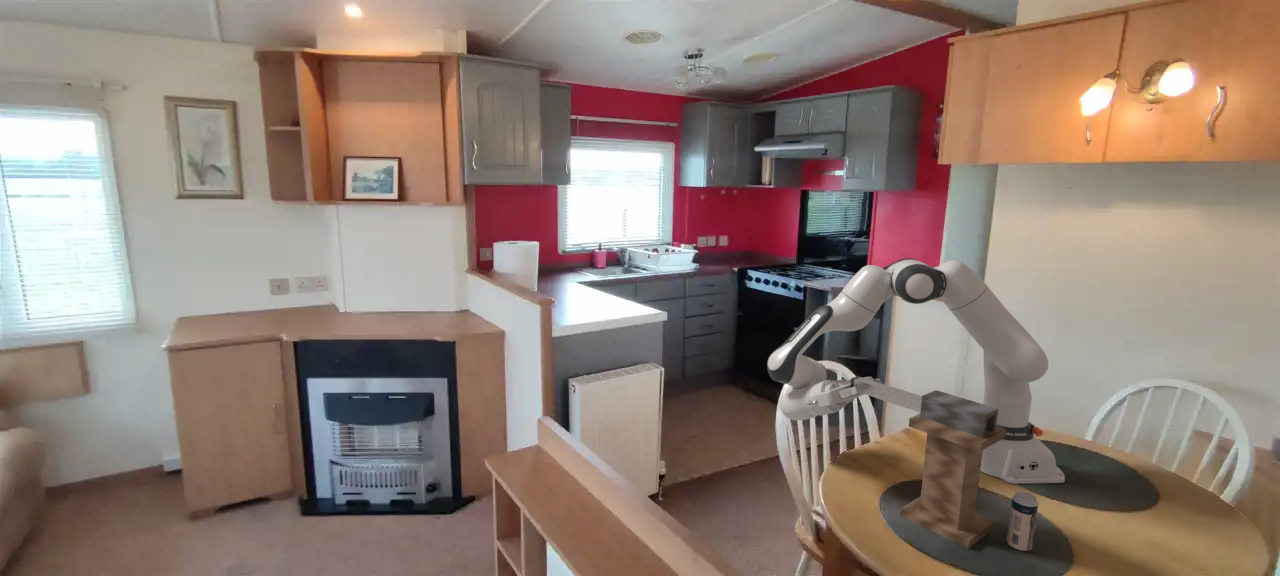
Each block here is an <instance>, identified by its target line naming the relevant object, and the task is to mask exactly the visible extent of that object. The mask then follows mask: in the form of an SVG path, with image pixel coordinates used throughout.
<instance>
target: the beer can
mask: <svg viewBox="0 0 1280 576" xmlns="http://www.w3.org/2000/svg"><path fill="white" fill-rule="evenodd" d="M1010 506H1011V507H1010V513H1009V519H1008V520H1009V521H1008V527H1007V536H1006V543H1007V544H1008V545H1009V546H1010V547H1012V548H1013V549H1015V550H1017V551H1022V552H1027V551H1031V550H1032V549H1033V545H1034V543H1033V542H1034V537H1035V536H1034V535H1035V530H1036V522H1037V516H1038V515H1037V514H1038V508H1039V502H1038V500H1037V498H1036V496H1034V495H1033V494H1031V493H1028V492H1025V491H1017V492H1016V493H1014V495H1013V496H1012V497H1011V505H1010Z"/></svg>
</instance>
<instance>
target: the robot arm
mask: <svg viewBox="0 0 1280 576" xmlns="http://www.w3.org/2000/svg"><path fill="white" fill-rule="evenodd" d="M893 297H899V298H901V300H903V301H904V302H907V303H909V304H913V305H914V304H915V305H917V304H924V303H927V302H929V301H932V300H935V299H937V298H939V299H940V300H941V301H942V302H943V303H944V304H945V306H946V307H947V308H948V310H950V313H952V315H954V317H955V318H956V319H957V321H958V322H959V323H960V324H961V325H962V326H963V328H964V329H965V330H966V331H967V332H968V333H969V335H970V336H971V337H972V339H974V340H975V342H976V343H977V344H978V345H979V347H981V349H982V350H983V377H984V379H983V380H984V394H983V402H982V404H984V405H988V406H991V407H994V408H998V416H997V424H996V426H998V427H1002V428H1005V429H1006V435H1005V438H1003V439H1002V440H1000V441H998V442H996V443H995V444H993V445H991V446H989V447H988V448H986V449H984V450H983V452H982V460H981V469H980V472H981V473H984V474H986V475H989V476H991V477H995V478H997V479H1001V480H1002V481H1004V482H1007V483H1010V484H1013V485H1014V484H1016V485H1017V484H1024V485H1025V484H1060V483H1061V484H1062V483H1065V481H1066V477H1065V474H1064V472H1063V470H1061V468H1059V466H1057V463H1056V457H1055V455H1054V454H1053V452H1052V451H1051V449H1050V448H1049V447H1047V446H1046V445H1045V444H1044V443H1043V442H1042V441H1041V440H1039V439H1038V438H1037V437H1039V438H1040V437H1042V436H1043V434H1044V432H1043V430H1042V429H1040V428H1039V427H1037V426H1035V425H1034V424H1033V423H1032V422H1030V414H1031V413H1030V412H1031V406H1032V400H1033V399H1032V398H1033V396H1032V392H1031V388H1030V383H1031V382H1035V381H1038V380H1040V379H1041V378H1043V376H1045V374H1046V373H1047V371H1048V369H1049V359H1048V357H1047V354H1046V352H1045V351H1044V349H1043V348H1042V347H1041V345H1039V343H1038V342H1037V340H1035V338H1033V336H1032V335H1031V334H1030V333H1029V332H1028V331H1027V329H1025V328H1024V326H1023V325H1022V324H1021V323H1020V322H1019V321H1018V320H1017V319H1016V318H1015V316H1014V315H1012V313H1011V312H1010V311H1009V310H1008V309H1007V308H1006V307H1005V306H1004V305H1003V303H1002V302H1001V300H1000V299H999V298H998V296H996V295H995V293H994V292H993V291H992V290H991V289H990V288H989V286H988V285H987V283H986V282H984V280H983V279H982V278H981V277H980V276H979V275H978V274H977V273H976V272H975V271H974V270H973V269H971V268H970V267H969V266H968V265H967V264H965V263H964V262H963V261H960V260H958V259H957V260H956V259H951V260H947V261H945V262H942V263H940V264H939V265H938V266H935V267H934V266H933V267H931V266H930V265H928V264H926V263H925V262H922V261H920V260H917V259H916V258H915V259H914V258H909V257H907V258H902V259H899V260H896V261H895V262H893V263H891V264H888V265H886V266H884V267H881V266H878V265H875V264H874V265H873V264H868V265H867V264H866V265H865V266H863V267H861V268H860V269H859V270H858V271H857V272H856V273H855V274H854V275H853V276H852V278H850V280H848V282H847V284H846V285H844V287H843V289H842V290H841V291H840V293H839V294H838V295H837V296H836V297H835V298H834V299H832V301H830V302H829V303H827V304H824V305H821V306H819V307H817V308H816V309H814V311H812V313H810V315H809V316H807V317H806V319H805V320H804V321H803V322H802V323H801V325H799V326H798V327H797V328H796V330H795V331H793V333H792V334H791V335H790V336H789V337H788V338H787V339H786V340H785V341H784V342H783V343H782V344H781V345H779V346H778V347H777V348H775V349H774V350H773V351H772V352H771V353H770V355H769V356H768V359H767V361H766V367H767V372H768V374H769V377H770V378H771V380H773V381H774V382H777V383H781V384H784V385H788V386H789V387H788V389H787V391H786V392H785V394H784V395H782V396H781V397H780V399H779V401H778V405H779V409H780V411H781V412H782V414H783V415H784V416H785V417H786V418H788V419H789V420H792V421H804V420H810V419H813V418H816V417H817V416H826V415H831V414H834V413H837V412H840V411H841V410H842V408H844V407H845V406H846V405H848V404H850V403H852V402H854V401H855V399H857V398H859V397H861V396H864V395H865V394H863V393H860V390H859V387H858V386H855V387H852V388H850V385H851V379H846V378H844V379H838V380H833V379H832V380H831V379H828V373H827V369H826V366H825V365H824V364H823V363H822V362H820V361H817V360H815V359H814V358H811V357H808V356H806V355H803V353H804V352H805V351H806V350H807V349H808V348H809V347H810V346H811V345H812V344H813V343H814V342H815V340H817V338H819V336H821V335H823V334H826V333H829V332H855V331H859V330H861V329H864V328H865V327H866V326H867V325H868V324H869V323H870V322H871V321H872V319H873V318H874V317H875V316H876V314H877V313H878V311H879V310H880V309H881V306H882V305H883V304H884V303H885V302H887V300H889V299H890V298H893ZM862 378H865V379H869V380H872V381H875V382H878V383H881V384H882V382H881V379H880V378H875V379H874V378H873V377H872V376H864V377H863V376H862Z"/></svg>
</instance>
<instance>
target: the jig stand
mask: <svg viewBox="0 0 1280 576" xmlns="http://www.w3.org/2000/svg"><path fill="white" fill-rule="evenodd" d="M921 396H922V403H921V413H918V414H916V415H914V416H912V417H909V418H908V427H909V428H912V429H915V430H918V431H921V432H923V433H926V443H925V450H924V451H925V452H924V461H923V471H922V481H921V482H922V483H921V489H920V492H921V493H920V496H918V497H917V498H916V499H914V500H912V501H910V502H908V503H907V504H905V505H904V506H902V507H900V511H899V516H900V517H902V518H903V519H904V518H905V519H906V520H907V521H910V522H913V523H915V524H916V525H918V526H920V527H922V528H924V529H926V530H928V531H930V532H932V533H935V534H937V535H939V536H941V537H943V538H944V539H946V540H949V541H951V542H953V543H955V542H956V543H955V544H957V543H958V544H957V545H959V544H960V545H959V546H961V545H962V546H961V547H963V546H964V547H963V548H965V547H966V548H965V549H968V550H969V549H970V548H971V547H973V546H974V545H975V544H977V543H978V542H979V541H981V540H982V539H984V536H985V537H986V536H987V535H989V534H990V533H991V532H993V531H994V527H995V526H994V525H995V522H994V521H992V520H990V519H988V518H986V517H983V516H981V515H979V514H977V513H976V508H977V501H978V492H979V483H980V477H981V476H980V474H981V471H980V469H981V460H982V452H983V450H984V449H986V448H988V447H989V446H991V445H993V444H995V443H996V442H998V441H1000V440H1002V439H1003V438H1005V435H1006V429H1005V428H1002V427H998V426H996V424H997V416H998V408H994V407H991V406H988V405H984V404H983V403H982V402H981V403H980V402H978V401H974V400H970V399H967V398H964V397H960V396H957V395H954V394H951V393H947V392H943V391H941V390H937V389H936V390H933V391H930V392H929V393H926V394H923V395H921ZM992 530H993V531H992ZM988 533H989V534H988ZM980 539H981V540H980ZM976 542H977V543H976ZM972 545H973V546H972Z"/></svg>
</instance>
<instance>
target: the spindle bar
mask: <svg viewBox="0 0 1280 576" xmlns="http://www.w3.org/2000/svg"><path fill="white" fill-rule="evenodd" d="M850 380H851V385H850V388H852V387H855V386H858V387H859V390H860V393H863V394H864V395H866V396H869V397H873V398H875V399H878V400H881V401H883V402H884V401H885V402H887V403H890V404H892V405H893V404H894V405H896V406H899V407H902V408H905V409H907V410H911V411H914V412H916V413H918V414H920V413H921V403H922V396H923V395H920V394H917V393H913V392H910V391H907V390H904V389H900V388H897V387H895V386H891V385H888V384H883V383H882V382H881V383H878V382H875V381H872V380H869V379H865V378H863V376H862V377H861V376H859V375H857V376H854V377H851V378H850Z"/></svg>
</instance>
